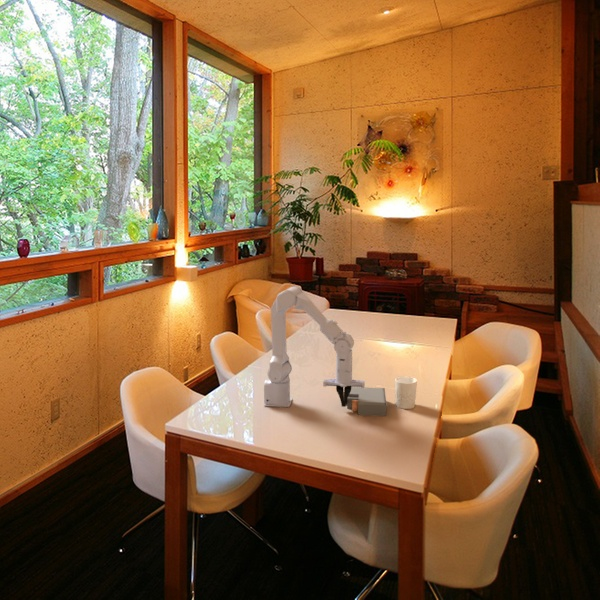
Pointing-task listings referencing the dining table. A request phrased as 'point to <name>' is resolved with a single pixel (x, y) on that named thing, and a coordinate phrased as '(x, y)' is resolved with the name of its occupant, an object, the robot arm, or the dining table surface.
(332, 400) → the dining table surface
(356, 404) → the orange knob
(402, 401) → the white cup
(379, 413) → the box
